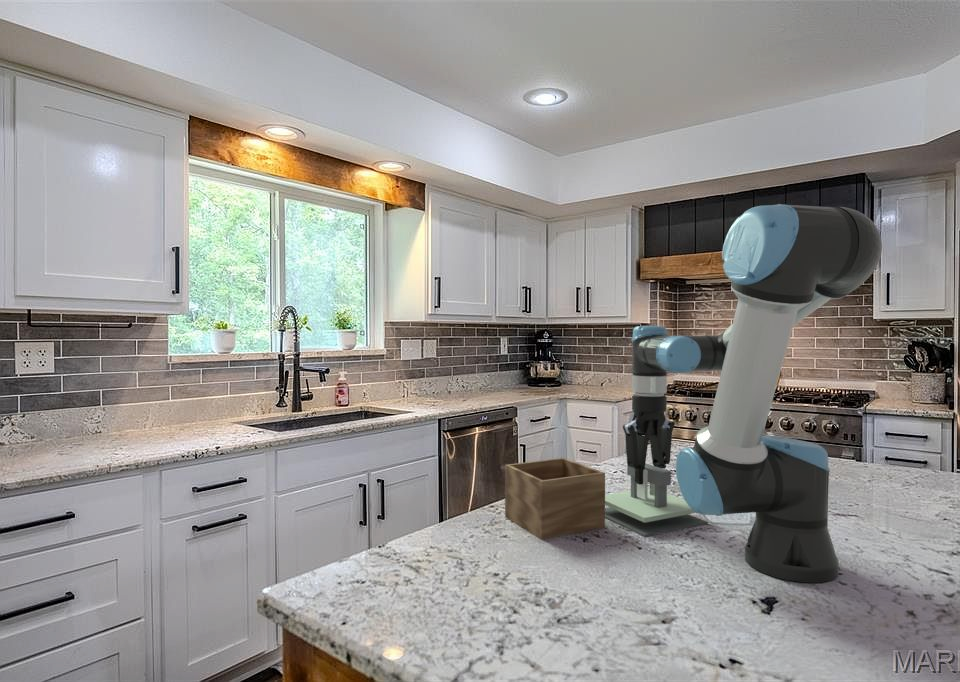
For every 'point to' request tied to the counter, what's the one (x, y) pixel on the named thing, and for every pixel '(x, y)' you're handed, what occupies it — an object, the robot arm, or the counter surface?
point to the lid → (649, 498)
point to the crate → (555, 497)
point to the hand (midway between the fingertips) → (648, 496)
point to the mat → (653, 523)
